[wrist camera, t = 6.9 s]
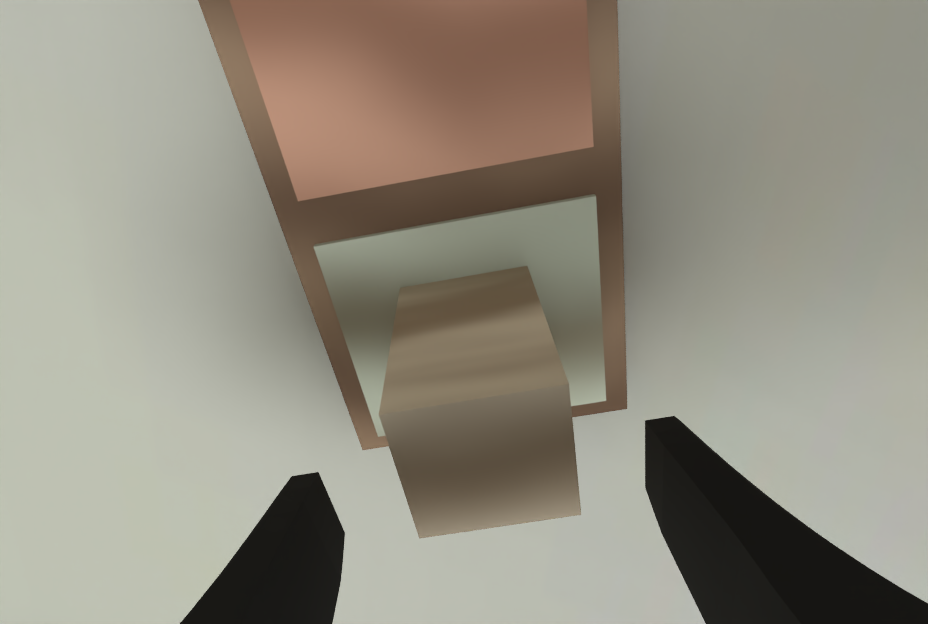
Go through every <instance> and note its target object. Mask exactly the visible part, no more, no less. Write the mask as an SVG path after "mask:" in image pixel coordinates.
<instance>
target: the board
mask: <svg viewBox="0 0 928 624" xmlns="http://www.w3.org/2000/svg"><path fill="white" fill-rule="evenodd" d="M198 1H199V4H200V6H201V9H202V12H203V15H204V17H205V20H206V23H207V26H208V28H209V31H210V34H211V37H212V39H213V42H214V45H215V47H216V50H217V53H218V56H219V58H220V61H221V64H222V67H223V69H224V72H225V75H226V78H227V80H228V83H229V86H230V88H231V91H232V94H233V97H234V99H235V102H236V105H237V108H238V110H239V113H240V116H241V119H242V121H243V124H244V127H245V129H246V132H247V135H248V138H249V140H250V143H251V146H252V149H253V151H254V154H255V157H256V160H257V162H258V165H259V168H260V170H261V173H262V176H263V179H264V181H265V184H266V187H267V190H268V192H269V195H270V198H271V201H272V203H273V206H274V209H275V211H276V214H277V217H278V220H279V222H280V225H281V228H282V231H283V233H284V236H285V239H286V242H287V244H288V247H289V250H290V252H291V255H292V258H293V261H294V263H295V266H296V269H297V272H298V274H299V277H300V280H301V283H302V285H303V288H304V291H305V293H306V296H307V299H308V302H309V304H310V307H311V310H312V313H313V315H314V318H315V321H316V324H317V326H318V329H319V332H320V334H321V337H322V340H323V343H324V345H325V348H326V351H327V354H328V356H329V359H330V362H331V365H332V367H333V370H334V373H335V375H336V378H337V381H338V384H339V386H340V389H341V392H342V395H343V397H344V400H345V403H346V406H347V408H348V411H349V414H350V416H351V419H352V422H353V425H354V427H355V430H356V433H357V436H358V438H359V441H360V444H361V447H362V449H363V450H367V449H373V448H379V447H386V446H389V444H388V441H387V438H386V435H385V432H384V429H383V426H382V423H381V420H380V417H379V410H380V404H381V398H382V392H383V386H384V380H385V374H386V368H387V362H388V356H389V350H390V344H391V338H392V332H393V326H394V320H395V314H396V308H397V302H398V296H399V291H400V288H401V287H407V286H413V285H419V284H425V283H430V282H436V281H442V280H448V279H453V278H459V277H465V276H471V275H476V274H482V273H488V272H494V271H499V270H505V269H511V268H517V267H523V266H528V269H529V272H530V275H531V278H532V280H533V283H534V286H535V289H536V292H537V295H538V297H539V300H540V303H541V306H542V309H543V312H544V315H545V317H546V320H547V323H548V326H549V329H550V332H551V334H552V337H553V340H554V343H555V346H556V349H557V351H558V354H559V357H560V360H561V363H562V366H563V368H564V371H565V374H566V377H567V380H568V383H569V389H570V400H571V411H572V417H577V416H584V415H590V414H596V413H603V412H609V411H615V410H622V409H627V383H626V341H625V300H624V259H623V218H622V177H621V136H620V95H619V54H618V13H617V0H198Z"/></svg>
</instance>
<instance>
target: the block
mask: <svg viewBox="0 0 928 624" xmlns="http://www.w3.org/2000/svg"><path fill="white" fill-rule="evenodd" d="M379 417H380V420H381V423H382V426H383V429H384V432H385V435H386V438H387V441H388V444H389V448H390V451H391V454H392V457H393V460H394V463H395V466H396V469H397V472H398V475H399V478H400V481H401V484H402V487H403V490H404V493H405V496H406V499H407V502H408V505H409V508H410V511H411V514H412V517H413V520H414V523H415V526H416V529H417V532H418V535H419V538H425V537H432V536H439V535H446V534H453V533H459V532H466V531H473V530H480V529H487V528H494V527H500V526H507V525H514V524H521V523H528V522H535V521H541V520H548V519H555V518H562V517H569V516H575V515H581V508H580V497H579V486H578V476H577V465H576V454H575V443H574V432H573V422H572V411H571V400H570V389H569V383H568V380H567V377H566V374H565V371H564V368H563V366H562V363H561V360H560V357H559V354H558V351H557V349H556V346H555V343H554V340H553V337H552V334H551V332H550V329H549V326H548V323H547V320H546V317H545V315H544V312H543V309H542V306H541V303H540V300H539V297H538V295H537V292H536V289H535V286H534V283H533V280H532V278H531V275H530V272H529V269H528V266H523V267H517V268H511V269H505V270H499V271H494V272H488V273H482V274H476V275H471V276H465V277H459V278H453V279H448V280H442V281H436V282H430V283H425V284H419V285H413V286H407V287H401V288H400V291H399V296H398V302H397V308H396V314H395V320H394V326H393V332H392V338H391V344H390V350H389V356H388V362H387V368H386V374H385V380H384V386H383V392H382V398H381V404H380V410H379Z"/></svg>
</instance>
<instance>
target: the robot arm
mask: <svg viewBox="0 0 928 624" xmlns="http://www.w3.org/2000/svg"><path fill="white" fill-rule="evenodd" d="M645 488H646V491H647V493H648V496H649V499H650V502H651V505H652V508H653V511H654V513H655V516H656V519H657V521H658V524H659V527H660V530H661V532H662V535H663V537H664V539H665V541H666V543H667V545H668V547H669V549H670V551H671V553H672V555H673V558H674V560H675V562H676V564H677V566H678V568H679V570H680V572H681V574H682V576H683V578H684V580H685V582H686V584H687V586H688V588H689V590H690V592H691V594H692V596H693V598H694V600H695V602H696V604H697V606H698V609H699V611H700V613H701V615H702V617H703V619H704V621H705V623H706V624H928V603H926V602H924V601H923V600H921V599H919V598H917V597H916V596H914V595H912V594H910V593H909V592H907V591H905V590H903V589H902V588H900V587H898V586H897V585H895V584H893V583H892V582H890V581H889V580H887V579H885V578H884V577H882V576H881V575H879V574H877V573H876V572H874V571H873V570H871V569H869V568H868V567H866V566H865V565H863V564H862V563H860V562H859V561H857V560H856V559H854V558H853V557H851V556H850V555H848V554H847V553H845V552H844V551H842V550H841V549H839V548H838V547H836V546H835V545H833V544H832V543H830V542H829V541H827V540H826V539H825V538H823V537H822V536H820V535H819V534H818V533H816V532H815V531H813V530H812V529H811V528H809V527H808V526H806V525H805V524H804V523H802V522H801V521H800V520H798V519H797V518H796V517H794V516H793V515H792V514H790V513H789V512H788V511H786V510H785V509H784V508H782V507H781V506H780V505H778V504H777V503H776V502H775V501H773V500H772V499H771V498H769V497H768V496H767V495H766V494H764V493H763V492H762V491H761V490H760V489H758V488H757V487H756V486H755V485H753V484H752V483H751V482H750V481H748V480H747V479H746V478H745V477H744V476H742V475H741V474H740V473H739V472H737V471H736V470H735V469H734V468H733V467H732V466H730V465H729V464H728V463H727V462H726V461H725V460H723V459H722V458H721V457H720V456H719V455H718V454H717V453H715V452H714V451H713V450H712V449H711V448H710V447H709V446H707V445H706V444H705V443H704V442H703V441H702V440H701V439H700V438H699V437H697V436H696V435H695V434H694V433H693V432H692V431H691V430H690V429H689V428H688V427H687V426H685V425H684V424H683V423H682V422H681V421H680V420H679V419H677V418H676V417H675V416H671V417H665V418H659V419H652V420H646V421H645ZM344 537H345V532H344V530H343V528H342V525H341V523H340V521H339V519H338V516H337V514H336V512H335V509H334V507H333V505H332V502H331V500H330V498H329V496H328V493H327V491H326V489H325V486H324V484H323V482H322V480H321V477H320V475H319V473H318V472H316V473H310V474H304V475H297V476H292V477H291V478H290V479H289V481H288V482H287V484H286V485H285V486H284V488H283V489H282V490H281V492H280V493H279V494H278V496H277V497H276V499H275V500H274V501H273V503H272V504H271V506H270V507H269V508H268V510H267V511H266V513H265V514H264V515H263V517H262V518H261V520H260V521H259V522H258V524H257V525H256V527H255V528H254V529H253V531H252V532H251V533H250V535H249V536H248V538H247V539H246V540H245V542H244V543H243V544H242V546H241V547H240V548H239V550H238V551H237V552H236V554H235V555H234V556H233V558H232V559H231V560H230V562H229V563H228V564H227V566H226V567H225V568H224V570H223V571H222V572H221V574H220V575H219V576H218V577H217V579H216V580H215V581H214V582H213V584H212V585H211V586H210V587H209V589H208V590H207V591H206V592H205V594H204V595H203V596H202V597H201V599H200V600H199V601H198V602H197V604H196V605H195V606H194V607H193V609H192V610H191V611H190V612H189V614H188V615H187V616H186V617H185V618H184V619H183V621H182V622H181V623H180V624H332V622H333V617H334V612H335V607H336V602H337V597H338V592H339V587H340V582H341V573H342V562H343V550H344Z"/></svg>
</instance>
